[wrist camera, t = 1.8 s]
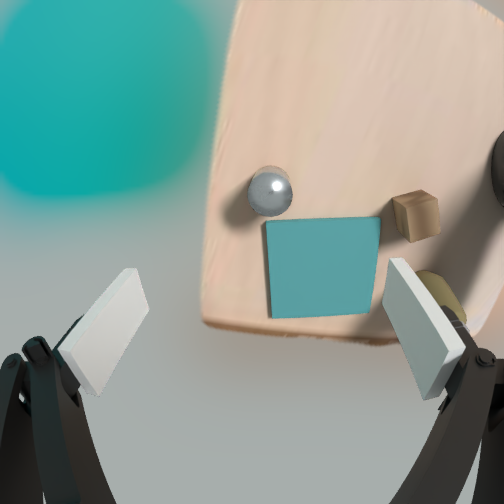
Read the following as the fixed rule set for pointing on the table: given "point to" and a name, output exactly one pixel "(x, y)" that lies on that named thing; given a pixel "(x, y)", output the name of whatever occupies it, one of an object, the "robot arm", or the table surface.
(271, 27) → the table surface
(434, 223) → the walnut block
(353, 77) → the table surface
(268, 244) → the teal mat
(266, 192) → the grey metal tin
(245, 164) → the table surface
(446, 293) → the squeeze bottle
